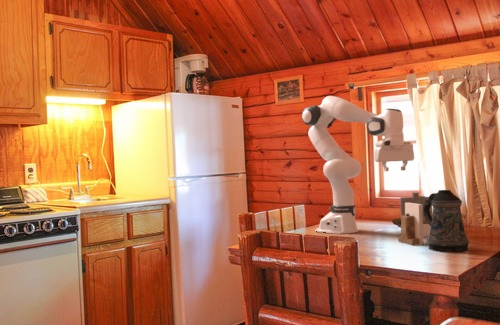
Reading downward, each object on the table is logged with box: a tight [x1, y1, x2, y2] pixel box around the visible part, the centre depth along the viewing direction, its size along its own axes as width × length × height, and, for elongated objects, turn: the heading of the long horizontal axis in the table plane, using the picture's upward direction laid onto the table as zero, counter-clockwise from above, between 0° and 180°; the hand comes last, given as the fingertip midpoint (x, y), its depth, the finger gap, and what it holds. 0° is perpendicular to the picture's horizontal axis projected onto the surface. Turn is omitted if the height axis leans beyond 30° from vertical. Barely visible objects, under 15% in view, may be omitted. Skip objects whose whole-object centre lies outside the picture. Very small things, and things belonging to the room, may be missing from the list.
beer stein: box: [423, 189, 470, 254], centre depth 214 cm, size 16×19×25 cm
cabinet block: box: [400, 214, 415, 239], centre depth 229 cm, size 4×4×11 cm
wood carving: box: [391, 212, 467, 237], centre depth 247 cm, size 9×35×11 cm, turn 75°
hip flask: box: [399, 191, 433, 218], centre depth 264 cm, size 16×4×20 cm, turn 82°
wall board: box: [397, 203, 424, 246], centre depth 229 cm, size 10×6×18 cm, turn 18°
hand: (394, 170), depth 240 cm, fingers open, 8 cm apart
